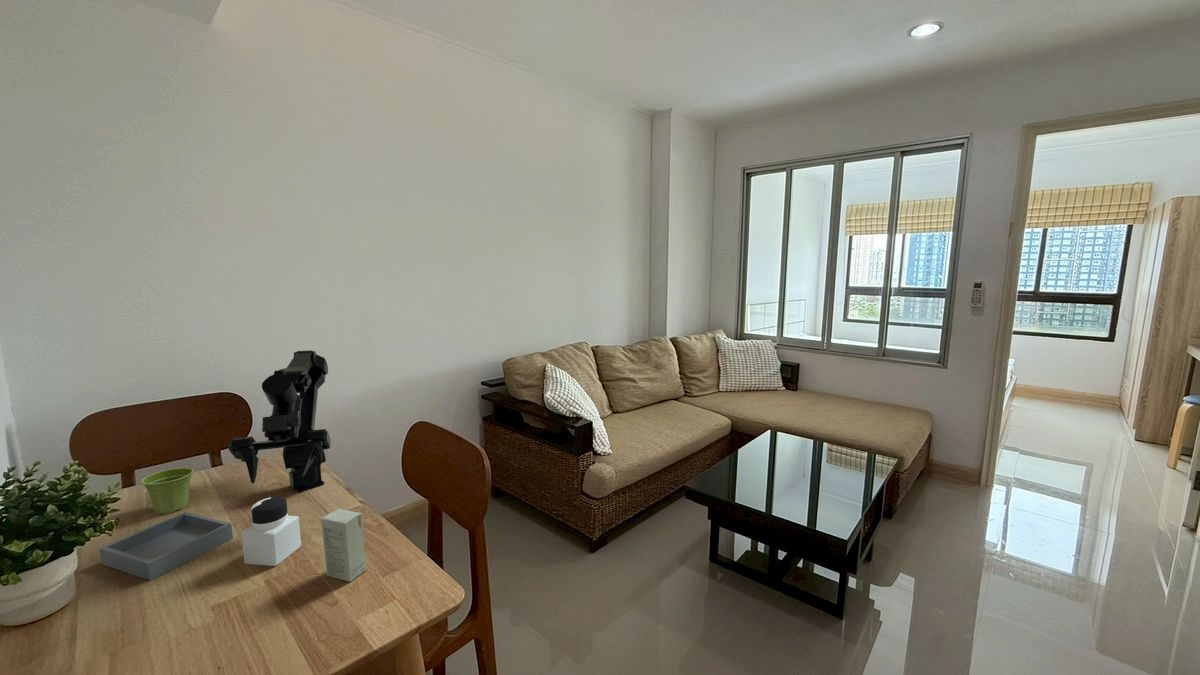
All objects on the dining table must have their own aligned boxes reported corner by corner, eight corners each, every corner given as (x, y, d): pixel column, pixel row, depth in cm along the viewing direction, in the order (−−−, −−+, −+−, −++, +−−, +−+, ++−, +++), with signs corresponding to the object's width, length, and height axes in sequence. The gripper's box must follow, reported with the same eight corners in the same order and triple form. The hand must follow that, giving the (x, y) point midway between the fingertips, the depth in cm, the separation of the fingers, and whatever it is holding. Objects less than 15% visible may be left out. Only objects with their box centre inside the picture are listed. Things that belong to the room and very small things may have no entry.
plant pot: (156, 503, 118) (152, 470, 116) (203, 496, 121) (199, 464, 120) (137, 521, 109) (132, 486, 108) (188, 513, 113) (184, 480, 112)
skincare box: (368, 569, 93) (364, 512, 91) (350, 583, 89) (345, 523, 87) (343, 562, 95) (339, 506, 93) (324, 575, 91) (320, 517, 89)
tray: (187, 525, 108) (185, 511, 107) (232, 538, 103) (231, 523, 102) (101, 564, 93) (99, 548, 93) (150, 580, 89) (147, 563, 88)
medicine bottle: (302, 546, 100) (297, 494, 99) (276, 567, 93) (270, 511, 92) (271, 544, 101) (266, 492, 99) (243, 564, 94) (237, 509, 92)
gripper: (226, 403, 101) (212, 471, 93) (324, 395, 108) (319, 458, 100) (242, 426, 110) (230, 491, 101) (332, 418, 116) (328, 478, 108)
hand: (277, 479), depth 102 cm, fingers open, 9 cm apart
